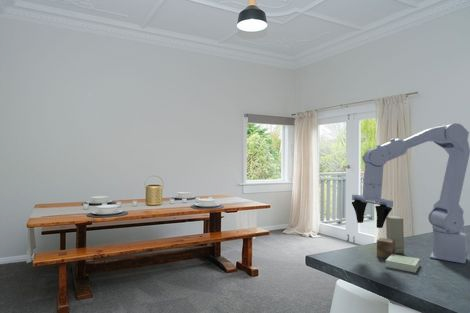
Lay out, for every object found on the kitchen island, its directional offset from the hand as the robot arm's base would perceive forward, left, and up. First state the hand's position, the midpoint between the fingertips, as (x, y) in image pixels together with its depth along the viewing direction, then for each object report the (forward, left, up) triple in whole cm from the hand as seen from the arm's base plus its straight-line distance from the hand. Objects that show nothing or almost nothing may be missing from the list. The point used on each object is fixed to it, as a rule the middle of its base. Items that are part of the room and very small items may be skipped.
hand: (369, 225), depth 108 cm
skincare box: (-5, -13, -11) cm, 18 cm away
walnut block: (-4, -4, -11) cm, 12 cm away
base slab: (-11, +3, -11) cm, 15 cm away
